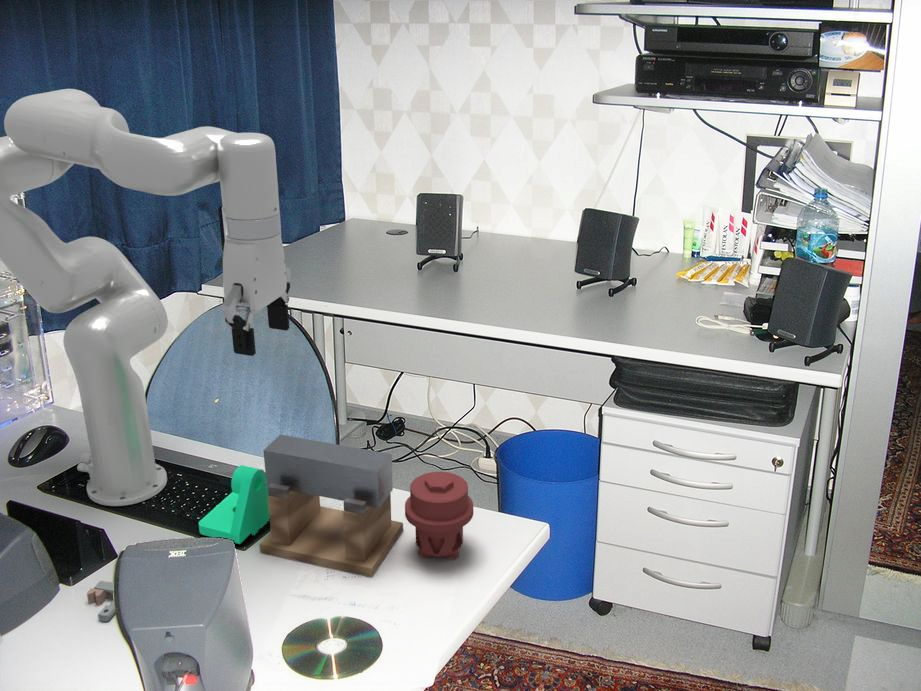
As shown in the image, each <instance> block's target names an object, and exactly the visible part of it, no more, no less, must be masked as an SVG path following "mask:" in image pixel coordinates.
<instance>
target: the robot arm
mask: <svg viewBox="0 0 921 691" xmlns="http://www.w3.org/2000/svg"><path fill="white" fill-rule="evenodd" d="M3 126H4V131H5V134H6V136H1V137H0V261H1V262H2V263H3V264H4V266H5V267H6V268H7V269H8V271H10V273H11V275H13V276H14V277H15V279H16V280H17V281H18V282H19V283H20V285H21V286H22V287H23V289H25V290H26V292H27V293H28V294H29V295H30V296H31V297H32V299H33V300H34V301H35V303H37V304H38V305H39V306H40V307H41V308H42V309H44V310H45V311H46V312H48V313H52V314H61V313H66V312H69V311H71V310H74V309H76V308H78V307H80V306H82V305H84V304H86V303H88V302H90V301H92V300H94V299H96V300H97V301H98V302H99V303H98V304H97V305H94V306H93V307H91V308H89V309H87V310H85V311H83V312H82V313H80V314H78V315H77V316H76V317H75V318H74V319H72V321H70V322H69V324H68V325H67V327H66V329H65V331H64V334H63V338H62V339H63V340H62V341H63V347H64V352H65V354H66V358H68V361H69V364H70V366H71V368H72V372H73V374H74V376H75V380H76V384H77V387H78V392H79V393H78V394H79V398H80V402H81V406H82V407H81V408H82V412H83V417H84V424H85V428H86V434H87V435H86V436H87V439H88V440H87V441H88V445H89V451H90V453H88V452H83V453H82V454H81V456H80V458H79V459H80V460H79V461H80V462H79V463H78V465H77V466H76V467H77V468H76V469H77V471H79V472H82V473H83V472H84V473H88V474H89V478H90V479H89V480H88V481H87V484H86V492H87V493H86V494H87V497H89V499H90V500H91V501H92V502H94V503H97V504H99V505H101V506H106V507H107V506H109V507H124V506H130V505H131V506H132V505H135V504H138V503H142V502H144V501H146V500H149V499H151V498H153V497H155V496H157V495H158V494H159V493H160V492H161V491H162V490H163V489H164V488H165V487H166V485H167V482H168V476H167V475H168V474H167V471H166V470H165V468H164V467H163V466H161V464H157V463H156V460H155V452H154V445H153V439H152V431H151V425H150V419H149V413H148V412H149V411H148V406H147V398H146V393H145V387H144V384H143V381H142V379H141V377H140V375H139V374H138V373H137V372H136V371H135V370H134V368H133V367H132V365H131V359H132V358H133V357H135V356H136V355H138V354H139V353H140V352H142V351H144V350H145V349H147V348H149V347H150V346H151V345H153V344H155V343H156V342H157V341H158V342H159V340H160V339H161V338H162V337H163V336H164V334H166V332H167V329H168V324H169V319H168V314H167V311H166V309H165V306H164V305H163V303H162V301H161V299H160V298H159V297H158V296H157V294H156V293H155V292H154V290H153V289H152V287H150V285H149V284H148V283H147V282H146V280H144V278H143V277H142V275H141V274H140V273H139V272H138V271H137V270H136V268H135V267H134V266H133V264H132V263H131V262H130V261H129V260H128V258H127V257H126V256H125V255H124V254H123V253H122V251H120V249H119V248H117V247H116V246H115V245H114V244H112V243H111V242H109V241H108V240H106V239H103V238H101V237H97V236H85V237H80V238H78V239H75V240H71V241H69V242H64V241H63V240H61V239H60V237H58V236H57V234H55V232H54V231H53V230H52V229H51V227H50V226H49V225H48V224H47V222H46V221H45V220H44V219H42V218H41V217H40V216H39V215H38V214H36V213H35V212H33V211H32V210H31V209H30V208H27V207H25V206H22V205H21V204H18V203H16V202H14V201H13V200H12V199H11V197H12V196H13V195H14V196H15V195H17V194H21V193H25V192H28V191H30V190H34V189H38V188H41V187H43V186H46V185H49V184H51V183H53V182H54V181H57V179H60V178H61V177H62V176H63V175H64V174H66V172H68V170H69V169H70V168H72V167H73V166H74V164H75V165H79V166H83V167H88V168H93V169H96V170H97V169H98V170H99V171H100V172H101V173H102V175H104V176H105V177H106V178H107V179H109V180H110V181H112V182H113V183H114V184H116V185H118V186H120V187H122V188H126V189H129V190H134V191H138V192H143V193H147V194H151V195H152V194H153V195H157V196H167V197H171V196H181V195H185V194H186V193H189V192H192V191H194V190H196V189H199V188H201V187H205V186H208V185H211V184H215V183H218V182H220V184H219V185H220V194H221V203H222V212H223V213H222V214H223V215H222V216H223V226H224V234H225V239H226V240H225V241H224V242H223V243H224V244H223V254H222V255H223V256H222V283H223V285H222V286H223V287H222V288H223V300H224V301H223V303H222V305H221V306H220V310H221V313H222V314H223V317H224V322H225V323H226V324H227V325H228V327H229V329H231V337H232V350H233V353H234V354H236V355H243V356H249V357H250V356H251V357H253V356H255V355H256V354H257V353H256V351H257V350H256V342H255V331H254V328H252V323H253V320H254V317H255V313H257V312H259V311H261V310H262V309H264V308H265V307H266V308H267V322H268V328H269V329H273V330H279V331H288V330H289V329H290V315H289V302H290V296H289V291H290V289H291V283H290V281H291V276H292V269H291V267H287V266H286V259H285V258H286V257H285V252H284V250H285V249H284V245H283V239H282V225H281V212H280V201H279V200H280V199H279V198H280V197H279V184H278V183H279V182H278V170H277V159H276V158H277V155H276V147H275V146H276V145H275V143H274V141H273V139H272V137H270V136H269V135H266V134H264V133H259V132H234V131H230V130H227V129H223V128H220V127H215V126H199V127H196V128H192V129H188V130H184V131H182V132H178V133H174V134H169V135H167V136H164V137H154V136H153V137H152V136H147V135H146V136H145V135H141V134H137V133H131V132H130V129H129V125H128V123H127V121H126V119H125V117H124V116H123V115H122V114H121V113H120V112H119V111H118V110H115V109H113V108H109V107H104V106H101V105H100V104H99V103H98V100H96V99H95V98H94V97H93V96H92V95H90V94H88V93H87V92H85V91H83V90H79V89H75V88H64V89H63V88H62V89H57V90H51V91H47V92H42V93H37V94H36V93H35V94H30V95H26V96H23V97H21V98H19V99H18V100H16V101H15V102H13V103H12V104H11V106H9V108H8V109H7V111H6V113H5V115H4V120H3ZM243 305H248V306H243ZM241 313H244V314H245V317H244V318H242V316H240V315H241Z"/></svg>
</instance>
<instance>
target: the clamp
mask: <svg viewBox="0 0 921 691" xmlns="http://www.w3.org/2000/svg"><path fill="white" fill-rule="evenodd" d="M114 583H115V582H111V581H105V580H100V581H99V582H97V583H96V584H95V585H94V587H93V588H91V587H90V589H89V590H88V591H87V592H86V596H87V602H88V604H89V605H91V604H94V603H96V604H97V606H98V607H99V606H101V605H102V604H103V603H104V602H105V601H106V600H110V601H111V602H110V604H109V605H107V604H106V605H105V606H104V607H103V608H102V609H101V610H100V611H99V612H98V614H97V618H98V620H99V621H102V622H109V621H110V620H111V619H112V618H113V616H114V615H115V614H116V613H115V607H114V600H113V593H114Z"/></svg>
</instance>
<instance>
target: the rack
mask: <svg viewBox="0 0 921 691" xmlns="http://www.w3.org/2000/svg"><path fill="white" fill-rule="evenodd" d="M391 494H392V492H391V493H390V494H389V495H388V497H387V498H386V500H385V501H384V502H383V504H382V505H381V506H380V508H377V507H372V506H367V505H366V502H365V501H360V500H355V499H350V498H346V499H345V500H344V501H343V510H341V509H338V508H337V509H336V508H332V507H331V508H330V507H327V506H322V505H321V498H320V497H321V496H316V495H311V494H306V493H301V492H296V491H291V490H290V487H288V486H283V485H278V484H273V483H271V484H270V485H269V486H268V506H269V517H270V520H269V527H270V532H269V533H268V534H267V535H266V536H265V537H264V538H263V539H262V541H261V542H260V543H259V544H258V545H259V553H260V554H264V555H270V556H275V557H278V558H283V559H288V560H291V561H295V562H296V561H297V562H301V563H305V564H310V565H314V566H319V567H324V568H329V569H333V570H338V571H342V572H347V573H350V574H355V575H361V576H363V577H364V576H365V577H369V578H373V576H374V575H375V574H376V573H377V571H378V569H379V567H380V566H381V564H382V563H383V562H384V560H385V559H386V557H387V556H388V554H389V553H390V551H391V550H392V548H393V547H394V545H395V543H396V542H397V541H398V539H399V538H400V536H401V535H402V533H403V532H404V522H402V521H398V520H397V521H396V520H392V500H391V499H392V498H391Z"/></svg>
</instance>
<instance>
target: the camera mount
mask: <svg viewBox="0 0 921 691" xmlns="http://www.w3.org/2000/svg"><path fill="white" fill-rule="evenodd" d="M230 486H231V491H232V492H230V493H229V494H228V495H227V496H226V497H225V498H224V499H222V501H221V502H220V503H218V504H217V505H216V506H215V507H214V508H213V509H212V510H210V511H209V512H208V513H207V514H206V515H205V516H204V517H203V518H201V519H200V520H199V521H198V529H199V534H200V535H203V536H206V537H211V538H214V537H222V538H228V539H232V540H234V542H235V543H234V544H238V545H241V544H242V543H243V542H244V541H245V540H246V539H247V538H248V537H249V536H253V535H254V536H255V535H256V534H257V533H258V532H259V531H260V530H261V529H262V528H263V527H264V526H265V525H266V524H268V522H270V520H269V519H270V517H269V506H268V486H267V484H266V473H265V469H261V468H257V467H253V466H248V465H241V464H240V465H239V466H237V467H236V469H235V470H234V472H233V474H232V478H231V482H230ZM267 521H268V522H267ZM265 523H266V524H265ZM260 528H261V529H260ZM259 529H260V530H259ZM258 530H259V531H258ZM250 534H252V535H250Z"/></svg>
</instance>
